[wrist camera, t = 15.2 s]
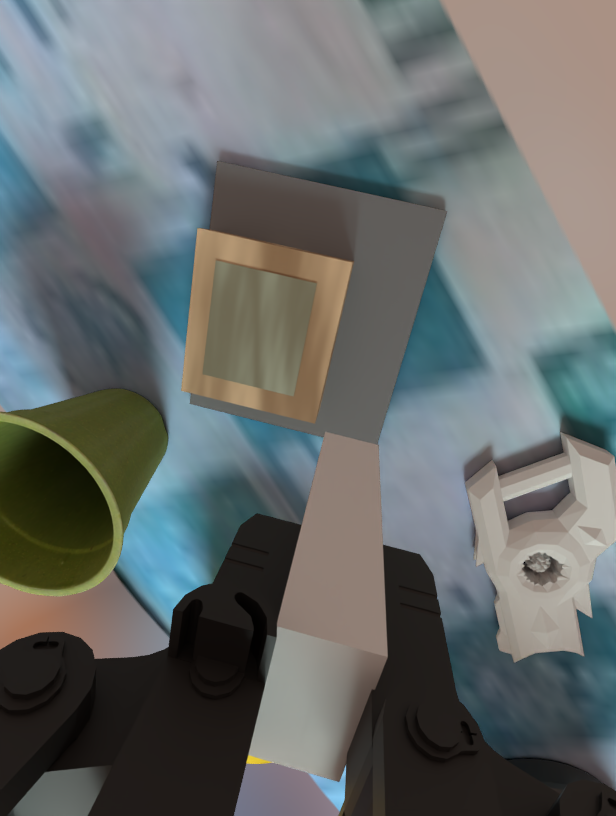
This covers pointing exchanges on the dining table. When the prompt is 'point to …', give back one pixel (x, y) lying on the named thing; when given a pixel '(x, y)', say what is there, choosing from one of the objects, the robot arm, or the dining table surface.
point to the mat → (367, 292)
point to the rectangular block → (262, 323)
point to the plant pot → (73, 487)
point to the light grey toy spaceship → (544, 545)
